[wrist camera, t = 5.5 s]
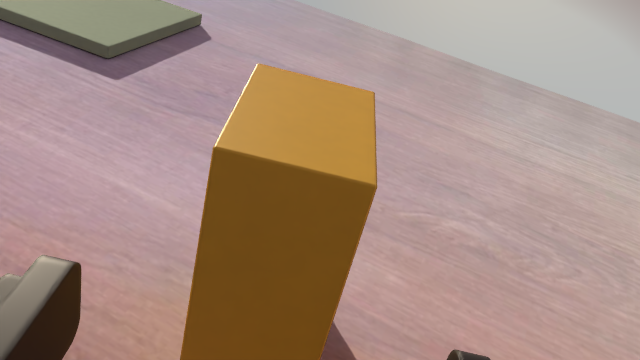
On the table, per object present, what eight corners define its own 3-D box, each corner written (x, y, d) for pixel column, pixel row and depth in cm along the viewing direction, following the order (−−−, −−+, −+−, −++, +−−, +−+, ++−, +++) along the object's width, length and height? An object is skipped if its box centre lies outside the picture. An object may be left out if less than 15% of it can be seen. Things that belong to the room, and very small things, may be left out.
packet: (174, 394, 20) (212, 146, 15) (219, 268, 26) (256, 62, 21) (299, 422, 20) (378, 185, 15) (315, 291, 26) (375, 91, 21)
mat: (-84, -12, 46) (-86, -24, 46) (43, -30, 58) (43, -41, 58) (108, 59, 43) (108, 46, 43) (201, 24, 55) (202, 14, 54)
